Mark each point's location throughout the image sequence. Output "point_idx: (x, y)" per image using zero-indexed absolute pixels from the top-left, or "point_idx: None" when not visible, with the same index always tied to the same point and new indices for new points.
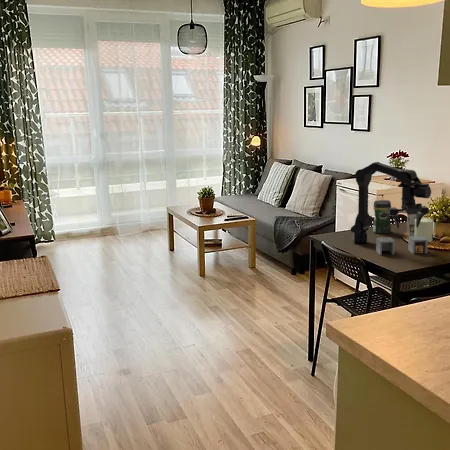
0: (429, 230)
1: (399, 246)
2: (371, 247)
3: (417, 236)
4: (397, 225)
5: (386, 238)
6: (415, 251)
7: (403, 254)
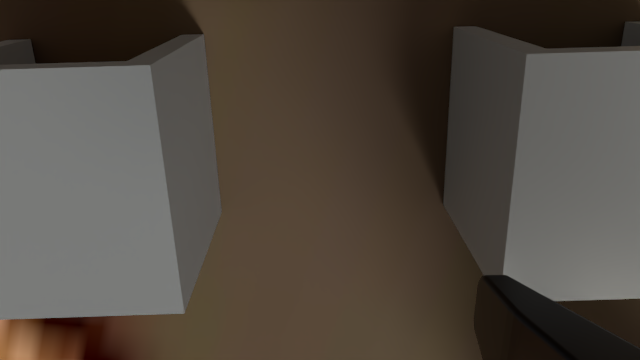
0: None
1: (287, 340)
2: None
3: (33, 294)
4: (570, 312)
5: (603, 230)
6: None
7: (331, 22)
